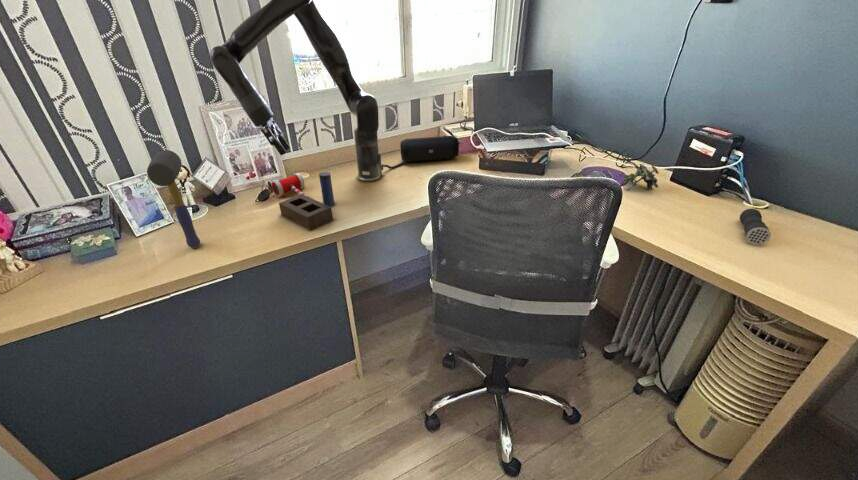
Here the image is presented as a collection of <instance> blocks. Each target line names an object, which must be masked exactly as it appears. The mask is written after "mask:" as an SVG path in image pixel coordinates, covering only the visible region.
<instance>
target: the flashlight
mask: <svg viewBox="0 0 858 480" xmlns="http://www.w3.org/2000/svg"><path fill="white" fill-rule="evenodd" d="M762 217H763V215H762V213H761V211H760V210H758V209H757V208H746V209H744V210H743V211H742V212H741V213H740V214H739V221H740V223H741V225H743V227H744V229H743V231H744V236H745V239H746V241H747V243H749V244H750V245H753V246H760V245H763V244H766V243H767V242H768V241H769V240H770V239H771V237H772V236H771V232H770V229H769V227H768V226H767V225H766V223H765V222H764V221H763V219H762Z"/></svg>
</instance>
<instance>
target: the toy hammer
mask: <svg viewBox="0 0 858 480" xmlns="http://www.w3.org/2000/svg"><path fill="white" fill-rule="evenodd" d="M270 185H271V190H272V192H273V194H274V195H275V196H276V197H278V198H280V197H282V196H284V194H286V193H290V192H295V193H296V194H298V195H301V194H303V195H305V196H308V197H310V196H309V195H307V194H306V193H304V192H303V191H301V190H302V189H304V188H305V185H306V184H305V179H304V177H303V176H302V174H301V173H299V172H296V173H295V172H294V173H293V174H292V175H291V176H287V177H285V178H282V179H274V180H272V181H271V184H270Z"/></svg>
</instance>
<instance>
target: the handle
mask: <svg viewBox="0 0 858 480" xmlns="http://www.w3.org/2000/svg"><path fill="white" fill-rule="evenodd" d="M318 176H319V177H318V178H319V183H320V189H321V190H320V191H321V196H322V201H323V202H322V203H323V204H325V205H328V206H330V207H331V208H332V207H333V206H335V197H334V191H333V190H334V189H333V184H332V176H331V172H329V171H322V172H320V173H319V174H318Z"/></svg>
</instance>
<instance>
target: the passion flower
mask: <svg viewBox="0 0 858 480" xmlns="http://www.w3.org/2000/svg"><path fill="white" fill-rule="evenodd" d="M634 168H635V169H636V172H635V173H630V174H627V175H626V174H625V172H623V171H621V173H620V174H619V177H620V178H621V177H622V176H624V178H623V181H625V182H624V183H623V186H625V185H626V184H627V183H629V184H630V186H629V187H628V190H630V189H631V188H633V187H634V186H636V185H637V183H639V182H640V181H641V180H643V182H644V183H646V189H648V190H653V187H655V188H656V189H657V188H659V185H658V178H656V177H655V176H656V174H657V175H658V174H659V170H658V168H657V167H656V166H655V165H653V164H652V165H651V168H652V170H649V169H648V168H647V166H646V165H644V164H642V163H640V164H639V165H637V163H635V164H634ZM654 172H655V174H654ZM638 177H640V178H639V179H638V180H636V178H638Z"/></svg>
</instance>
